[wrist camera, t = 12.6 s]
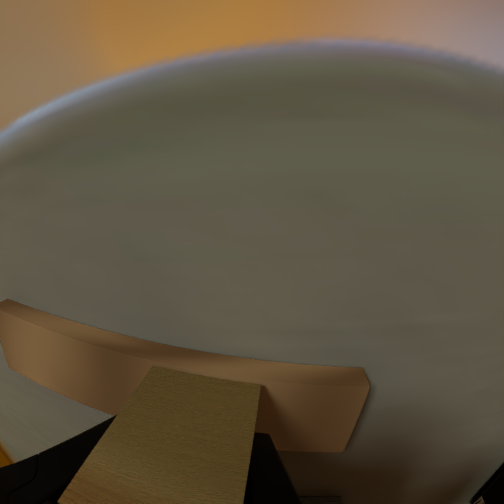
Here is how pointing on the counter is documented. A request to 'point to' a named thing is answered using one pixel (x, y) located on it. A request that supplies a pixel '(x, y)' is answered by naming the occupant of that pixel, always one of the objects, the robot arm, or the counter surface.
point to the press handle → (173, 444)
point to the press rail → (185, 360)
